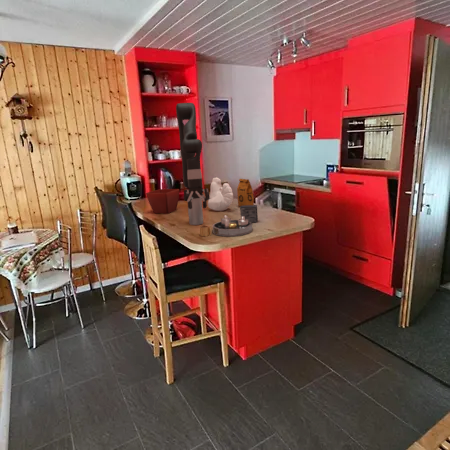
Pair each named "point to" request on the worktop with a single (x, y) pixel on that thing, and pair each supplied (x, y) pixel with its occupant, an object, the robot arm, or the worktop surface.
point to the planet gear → (205, 230)
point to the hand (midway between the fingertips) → (197, 208)
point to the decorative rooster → (220, 195)
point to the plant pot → (163, 200)
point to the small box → (249, 213)
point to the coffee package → (245, 193)
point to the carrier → (232, 227)
